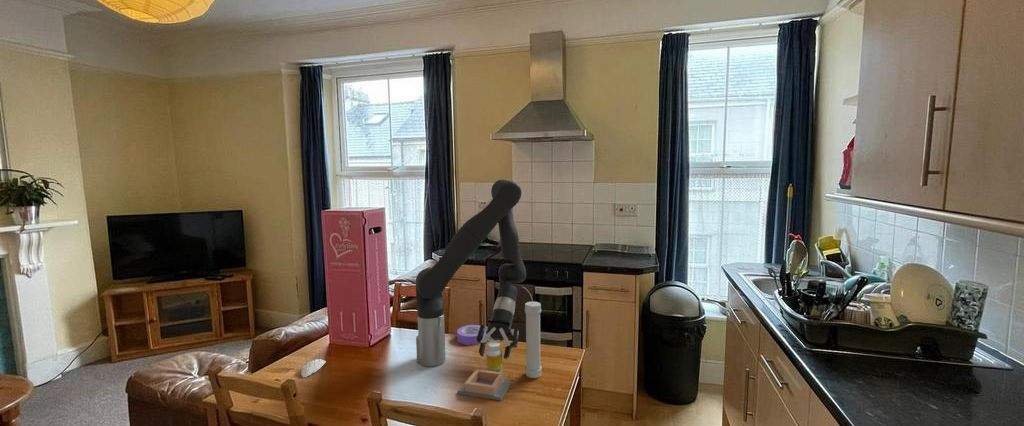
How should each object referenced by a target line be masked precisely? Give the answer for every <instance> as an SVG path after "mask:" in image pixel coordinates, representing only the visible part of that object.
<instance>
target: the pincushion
mask: <svg viewBox="0 0 1024 426" xmlns="http://www.w3.org/2000/svg"><path fill="white" fill-rule="evenodd" d="M317 356H318V358H316V359H315V358H314V359H312V360H309V361H307V362H305V364H304V365H303V366H302V368H301V370H300V374H301V377H302V378H303V377H305V378H307V377H308V376H311V375H312V374H314V373H316V372H317V371H318V370H320V369H321V368H322V366H324V365H325V364H326V362H327V361H326V360H324V359H321V358H320V354H318V355H317ZM305 357H306V358H305V359H308V356H307V355H306V356H305Z"/></svg>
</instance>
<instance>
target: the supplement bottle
mask: <svg viewBox="0 0 1024 426" xmlns="http://www.w3.org/2000/svg"><path fill="white" fill-rule="evenodd" d="M487 348H488V349H486V353H485V354H486V355H485V356H486V357H485V359H486V360H485V362H486V365H485V366H486V367H485V368H486V369H485V370H487V371H494V372H501V373H503V372H502V371H503V351H502V349H501V343H500V341H499V342H498V341H490V342H488V343H487Z"/></svg>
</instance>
